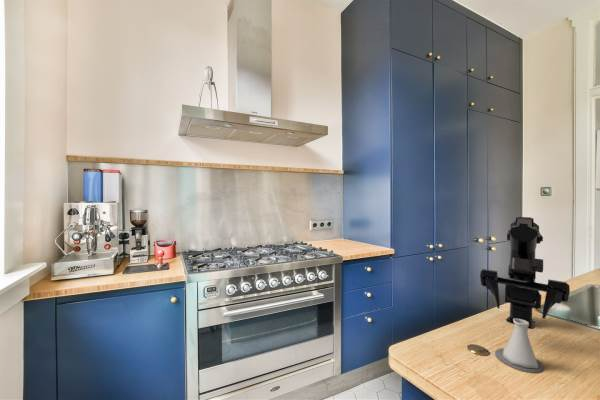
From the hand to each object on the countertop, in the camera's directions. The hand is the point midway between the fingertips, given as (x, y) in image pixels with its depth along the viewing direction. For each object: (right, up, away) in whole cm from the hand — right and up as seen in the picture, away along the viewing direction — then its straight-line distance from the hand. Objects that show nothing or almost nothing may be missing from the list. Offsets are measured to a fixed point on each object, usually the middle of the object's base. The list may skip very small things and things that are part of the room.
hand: (520, 312), depth 71 cm
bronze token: (-9, -11, +2) cm, 15 cm away
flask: (-2, -11, -2) cm, 12 cm away
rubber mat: (-2, -11, -2) cm, 12 cm away
